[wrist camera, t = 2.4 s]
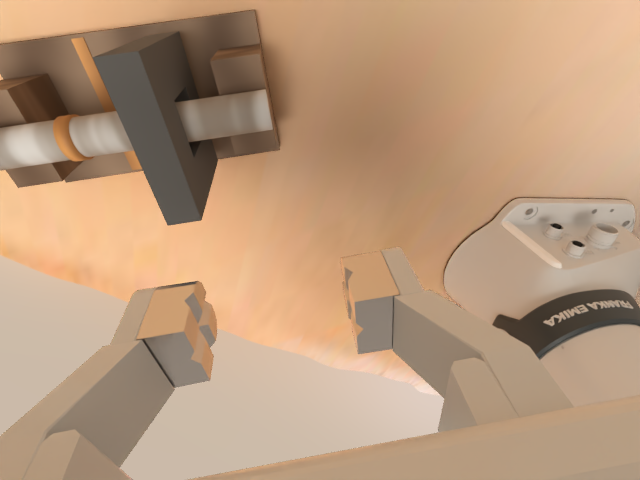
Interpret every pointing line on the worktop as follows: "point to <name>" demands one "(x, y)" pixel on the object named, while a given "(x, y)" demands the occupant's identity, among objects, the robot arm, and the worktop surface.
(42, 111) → the pipe stand
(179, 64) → the dark grey flat slab
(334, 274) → the worktop surface
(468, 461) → the robot arm
